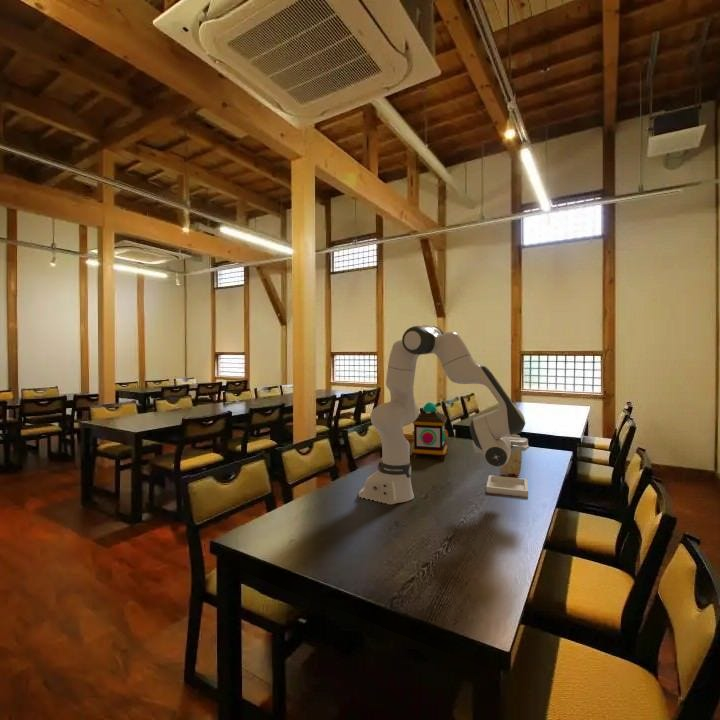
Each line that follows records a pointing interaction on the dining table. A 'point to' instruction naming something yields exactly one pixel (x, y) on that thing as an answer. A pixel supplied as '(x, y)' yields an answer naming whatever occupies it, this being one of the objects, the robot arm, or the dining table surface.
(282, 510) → the dining table surface
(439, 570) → the dining table surface
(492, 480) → the bin
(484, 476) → the dining table surface
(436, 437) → the decorative lantern
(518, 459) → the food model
